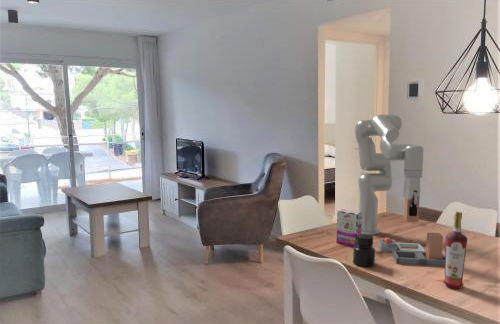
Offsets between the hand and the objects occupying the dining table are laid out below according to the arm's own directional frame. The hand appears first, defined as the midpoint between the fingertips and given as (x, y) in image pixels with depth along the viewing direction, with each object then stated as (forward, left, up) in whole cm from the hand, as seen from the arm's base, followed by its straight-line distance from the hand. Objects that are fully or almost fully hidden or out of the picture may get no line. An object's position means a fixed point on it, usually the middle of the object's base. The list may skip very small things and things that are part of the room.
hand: (411, 213), depth 187 cm
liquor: (+9, -32, -20) cm, 38 cm away
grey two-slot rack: (+3, -8, -20) cm, 21 cm away
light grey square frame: (+2, +6, -20) cm, 21 cm away
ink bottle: (-21, -13, -20) cm, 32 cm away
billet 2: (+8, -8, -19) cm, 22 cm away
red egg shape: (-8, +6, -18) cm, 21 cm away
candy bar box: (-25, +13, -20) cm, 35 cm away
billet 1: (0, 0, -3) cm, 3 cm away
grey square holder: (-8, +6, -20) cm, 22 cm away
